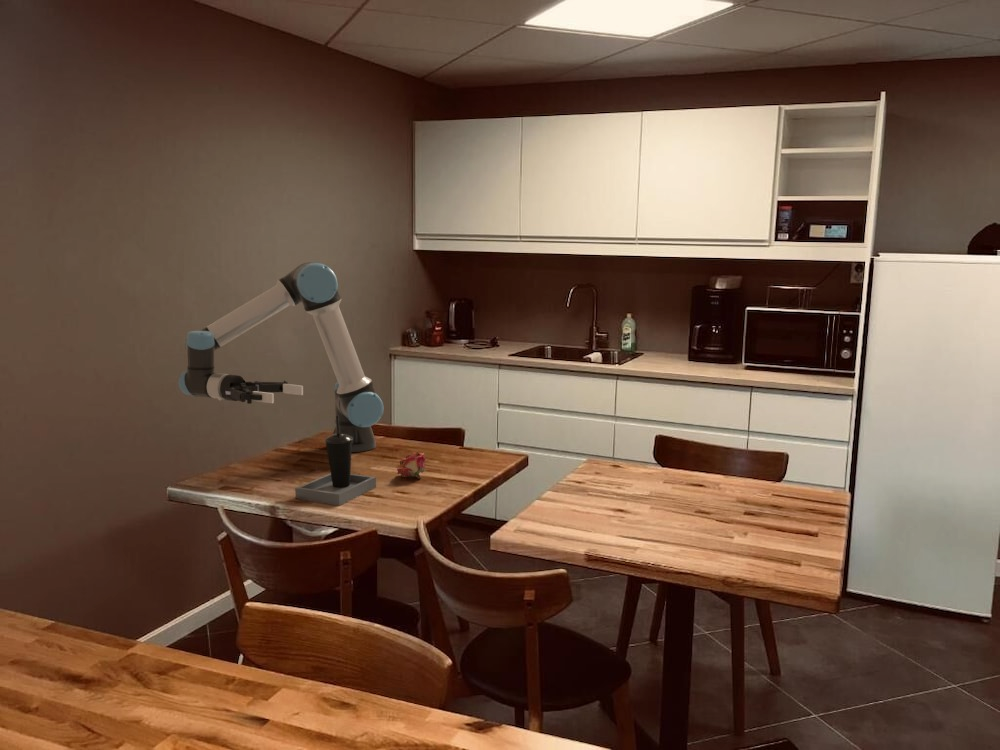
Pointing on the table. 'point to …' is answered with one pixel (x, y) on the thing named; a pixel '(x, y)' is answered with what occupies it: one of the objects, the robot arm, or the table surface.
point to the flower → (412, 465)
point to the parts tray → (335, 489)
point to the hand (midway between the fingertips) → (288, 394)
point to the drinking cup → (339, 457)
